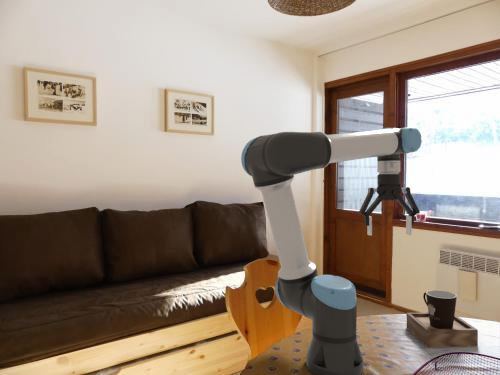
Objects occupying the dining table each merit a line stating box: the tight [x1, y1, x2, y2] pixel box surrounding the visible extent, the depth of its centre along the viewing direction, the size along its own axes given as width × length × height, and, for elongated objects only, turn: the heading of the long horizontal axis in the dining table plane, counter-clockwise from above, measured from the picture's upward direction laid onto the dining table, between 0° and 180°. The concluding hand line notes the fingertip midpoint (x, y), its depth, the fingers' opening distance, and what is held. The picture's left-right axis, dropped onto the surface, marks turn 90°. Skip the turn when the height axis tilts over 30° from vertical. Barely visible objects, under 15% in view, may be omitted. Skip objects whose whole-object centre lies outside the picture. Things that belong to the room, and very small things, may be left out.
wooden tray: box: [406, 311, 479, 348], centre depth 121 cm, size 15×15×5 cm
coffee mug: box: [422, 289, 458, 329], centre depth 121 cm, size 12×9×10 cm
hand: (389, 234), depth 132 cm, fingers open, 13 cm apart
